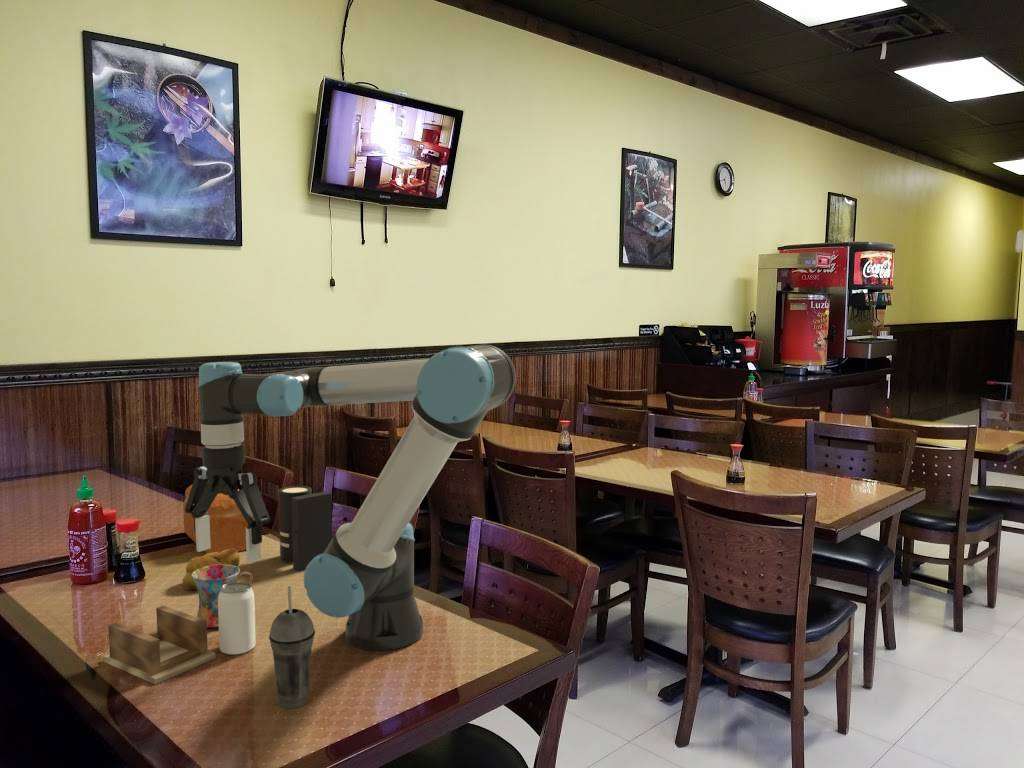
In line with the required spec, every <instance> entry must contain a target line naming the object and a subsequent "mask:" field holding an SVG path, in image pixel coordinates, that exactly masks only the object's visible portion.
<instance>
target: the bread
mask: <svg viewBox="0 0 1024 768" xmlns="http://www.w3.org/2000/svg"><path fill="white" fill-rule="evenodd" d="M192 485H193V484H191V485H190V486H188V487H187V488H186V489H185V492H184V495H185V499H184V501H183V503H182V509H183V510H182V515H183V526H184V533H185V535H187V536H188V537H189V538H190V539H191V540H192V541H193V543H195V544H196V533H195V531H194V517H192V515H191V514H190V513H186V512H185V507H186V504H187V501H188V497H189V494H190V491H191V488H192ZM237 491H239V489H238V490H237ZM193 505H194V504H193ZM206 513H208V514H205V515H209V522H210V542H211V548H210V549H207V550H204V551H203V552H205V553H206V554H207V553H213V552H218V553H220V552H221V551H224V550H228V549H236V550H237V551H238V553H239V552H243V551H247V550H246V527H247V526H248V523H247V522H246V520H245V518H244V517H243V515H242V513H241V512H240V510H239V508H238V507H237V505H236V503H235V502H234V500H233V499H231V498H230V497H229V496H228V495H224V494H222V493H220V494H217V496H216V497H215V499H214V501H213V502H212V504H211V506H210V507H209V509H208V512H206ZM205 515H204V516H205ZM253 520H254V519H253Z"/></svg>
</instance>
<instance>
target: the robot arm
mask: <svg viewBox="0 0 1024 768" xmlns="http://www.w3.org/2000/svg"><path fill="white" fill-rule="evenodd" d="M516 382H517V373H516V368H515V365H514V363H513V361H512V359H511V358H510V356H509V355H508V354H507V353H506V352H505V351H504V350H502V349H501V348H499V347H497V346H495V345H491V344H484V343H483V344H482V343H481V344H474V345H470V346H469V345H467V346H453V347H448V348H446V349H443V350H442V351H440V352H437V353H436V354H434V355H432V356H431V357H429V358H428V359H427V358H424V359H414V360H413V359H412V360H410V359H409V360H402V361H399V360H398V361H388V362H387V361H385V362H384V361H383V362H374V363H361V364H350V365H349V364H347V365H335V366H333V365H332V366H327V367H323V366H322V367H318V366H312V367H310V366H309V367H305V368H299V369H295V370H287V371H286V370H285V371H280V372H273V373H263V374H262V373H258V374H257V373H256V374H255V373H253V374H252V373H250V374H249V373H243V371H242V365H241V364H240V362H237V361H217V362H215V361H214V362H206V363H204V364H201V365H200V366H199V369H198V386H197V388H198V394H199V395H198V396H199V407H200V442H201V444H202V445H203V447H202V448H201V453H202V455H201V456H202V458H201V459H202V466H199V467H196V468H194V472H193V473H194V475H193V477H194V478H193V481H192V482H193V483H192V484H191V485H192V488H191V491H190V494H189V497H188V501H187V504H186V507H185V512H186V513H190V514H191V515H192V517H194V531H195V533H196V543H195V544H196V545H195V546H196V547H195V548H196V552H199V553H200V552H205V551H204V550H207V549H210V548H211V542H210V522H209V515H205V514H208V513H206V512H208V509H209V507H210V506H211V504H212V502H213V501H214V499H215V497H216V496H217V494H220V493H222V494H224V495H228V496H229V497H230V498H231V499H233V500H234V502H235V503H236V505H237V507H238V508H239V510H240V512H241V513H242V515H243V517H244V518H245V520H246V522H247V523H248V526H247V527H246V550H245V551H246V562H247V563H253V562H255V561H258V560H261V559H262V549H261V543H262V542H263V533H262V532H263V529H262V528H263V526H264V525H266V524H268V523H270V522H271V517H270V515H269V511H268V510H267V507H266V503H265V502H264V499H263V496H262V493H261V491H260V489H259V486H258V483H257V475H256V472H254V471H251V472H246V473H244V472H243V469H242V467H243V465H244V464H245V463H246V447H245V445H244V444H243V442H244V441H245V430H244V415H251V416H253V415H254V416H267V417H273V418H278V417H290V416H294V415H295V414H296V413H297V411H298V410H299V409H304V408H309V407H324V406H325V407H326V406H334V405H335V406H337V405H353V404H357V405H358V404H373V403H389V402H390V403H391V402H392V403H393V402H394V403H395V402H408V401H409V402H410V401H411V406H410V407H411V409H412V411H413V418H412V419H411V421H410V423H409V425H408V426H407V428H406V429H405V431H404V433H403V434H402V436H401V438H400V440H399V442H398V443H397V445H396V447H395V448H394V450H393V452H392V453H391V456H390V457H389V458H388V460H387V461H386V464H385V465H384V467H383V469H382V470H381V472H380V474H379V476H378V477H377V479H376V481H375V482H374V484H373V485H372V487H371V489H370V491H369V492H368V494H367V496H366V497H365V499H364V501H363V503H362V505H361V506H360V507H359V510H358V511H357V512H356V514H355V516H354V517H353V519H352V521H351V522H346V523H344V524H341V525H340V526H339V527H338V528H337V530H336V532H335V534H334V535H333V536H332V540H331V542H330V543H329V545H328V547H327V548H326V550H325V551H324V552H323V553H322V554H319V555H317V556H316V557H314V559H312V561H311V562H310V563H309V564H308V565H307V567H306V569H305V570H304V573H303V586H304V588H305V589H306V595H307V597H308V600H309V601H310V602H311V604H312V605H313V606H314V607H315V608H316V609H317V611H319V612H321V613H322V614H323V615H326V616H328V617H331V618H335V619H336V618H339V619H340V618H347V617H348V618H347V620H346V623H345V639H346V641H347V643H349V644H350V645H352V646H353V647H356V648H360V649H363V650H367V651H368V650H370V651H389V650H390V651H391V650H395V649H400V648H403V647H407V646H410V645H412V644H414V643H416V642H418V641H419V640H421V638H422V637H423V633H424V620H423V617H422V615H421V614H420V610H419V608H418V603H417V601H416V598H415V541H416V539H415V537H414V527H413V525H412V524H411V523H410V521H411V520H412V518H413V516H414V514H416V512H417V510H418V508H419V507H420V505H421V503H422V501H423V500H424V498H425V496H426V495H427V494H428V491H430V490H431V489H430V488H431V487H432V486H433V484H434V483H435V480H436V479H437V477H438V475H439V474H440V473H441V470H442V469H443V468H444V466H445V464H446V463H447V461H448V459H449V458H450V456H451V454H452V453H453V451H454V449H455V447H456V446H457V444H458V443H459V442H464V441H469V440H471V439H472V437H473V435H474V434H475V433H476V431H477V429H478V428H479V426H480V424H481V423H482V421H483V419H485V416H487V414H488V412H489V411H491V410H493V409H496V408H498V407H500V406H502V405H503V404H504V403H506V402H507V401H508V400H509V398H510V397H511V395H512V394H513V392H514V389H515V387H516ZM238 489H239V491H237V490H238ZM193 504H194V505H193ZM204 515H205V516H204ZM253 519H254V520H253Z"/></svg>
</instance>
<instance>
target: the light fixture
mask: <svg viewBox="0 0 1024 768" xmlns="http://www.w3.org/2000/svg"><path fill="white" fill-rule="evenodd" d="M312 490H313V489H312V487H310V486H307V485H291V486H285V487H282V488H279V489H278V515H279V516H278V517H279V518H278V520H279V521H278V523H279V554H280V555H279V556H280V557H279V559H280V561H281V562H284V563H292V569H293V570H295V571H296V572H302V570H303V571H305V569H306V567H307V565H308V564H309V563H310V562H311V561H312V559H314V557H316V556H317V555H319V554H322V553H323V552H324V551H325V550H326V548H327V547H328V545H329V543H330V542H331V540H332V538H333V527H332V526H333V521H332V520H333V519H332V515H333V514H332V492H331V493H330V492H328V491H320V492H313V491H312Z"/></svg>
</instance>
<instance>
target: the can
mask: <svg viewBox="0 0 1024 768" xmlns="http://www.w3.org/2000/svg"><path fill="white" fill-rule="evenodd" d="M252 586H253V585H252V583H251V584H250V583H249V582H246V581H237V582H233V583H229V584H226V585H223V586H222V587H221V588H220V593H219V596H218V618H219V627H218V641H219V650H220V652H221V653H222V654H224V655H228V656H237V655H243V654H246V653H248V652H250V651H252V650H253V649H255V647H256V610H255V609H256V607H255V592H254V590H253V588H252Z"/></svg>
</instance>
